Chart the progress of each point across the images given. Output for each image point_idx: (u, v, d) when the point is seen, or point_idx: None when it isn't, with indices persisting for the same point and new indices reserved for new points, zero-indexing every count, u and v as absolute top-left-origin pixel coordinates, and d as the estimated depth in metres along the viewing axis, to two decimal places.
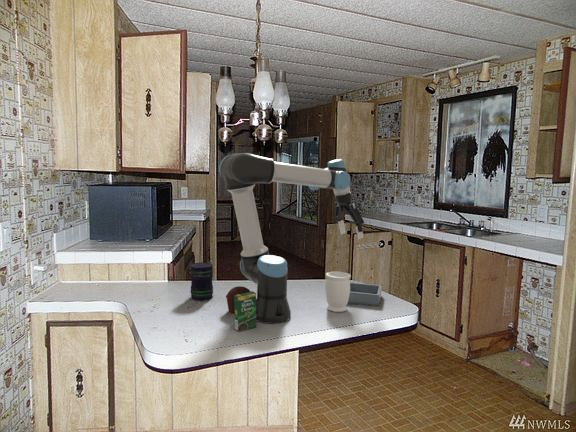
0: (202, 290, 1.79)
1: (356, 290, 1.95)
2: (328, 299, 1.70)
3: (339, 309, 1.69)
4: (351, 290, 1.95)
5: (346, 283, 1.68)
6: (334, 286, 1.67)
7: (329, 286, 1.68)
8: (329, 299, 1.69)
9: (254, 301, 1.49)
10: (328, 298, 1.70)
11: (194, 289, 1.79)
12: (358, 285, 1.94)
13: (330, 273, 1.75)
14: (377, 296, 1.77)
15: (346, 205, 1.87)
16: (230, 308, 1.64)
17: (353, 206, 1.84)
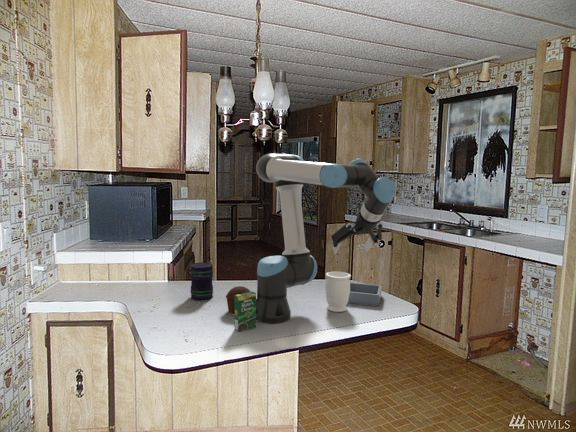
0: (202, 290, 1.79)
1: (356, 290, 1.95)
2: (328, 299, 1.70)
3: (339, 309, 1.69)
4: (351, 290, 1.95)
5: (346, 283, 1.68)
6: (334, 286, 1.67)
7: (329, 286, 1.68)
8: (329, 299, 1.69)
9: (254, 301, 1.49)
10: (328, 298, 1.70)
11: (194, 289, 1.79)
12: (358, 285, 1.94)
13: (330, 273, 1.75)
14: (377, 296, 1.77)
15: None
16: (230, 308, 1.64)
17: (346, 224, 1.47)
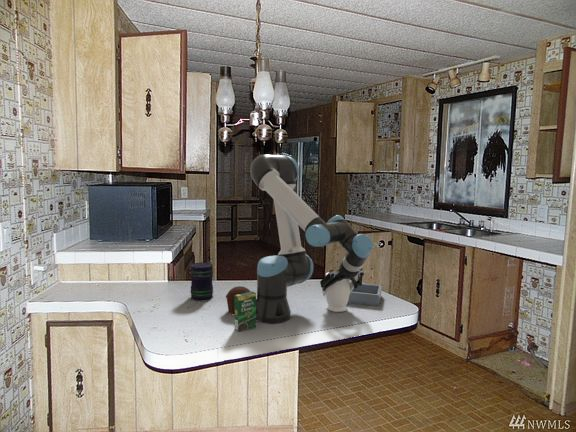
0: (202, 290, 1.79)
1: (356, 290, 1.95)
2: (328, 299, 1.70)
3: (339, 309, 1.69)
4: None
5: (346, 283, 1.68)
6: (334, 286, 1.67)
7: (329, 286, 1.68)
8: (329, 299, 1.69)
9: (254, 301, 1.49)
10: (328, 298, 1.70)
11: (194, 289, 1.79)
12: (358, 285, 1.94)
13: None
14: (377, 296, 1.77)
15: None
16: (230, 308, 1.64)
17: (330, 273, 1.61)
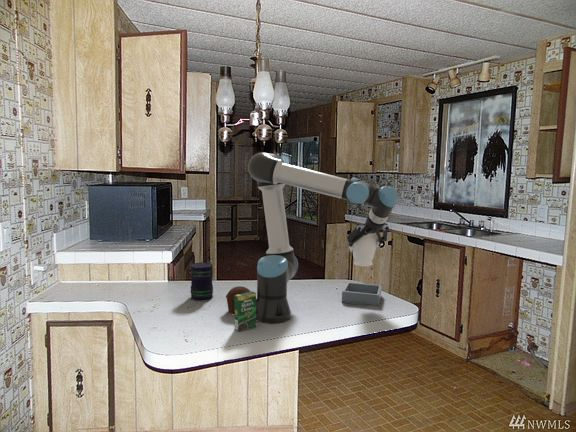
0: (202, 290, 1.79)
1: (356, 290, 1.95)
2: (355, 254, 1.79)
3: (365, 264, 1.78)
4: (351, 290, 1.95)
5: (372, 238, 1.77)
6: (360, 241, 1.76)
7: None
8: (356, 254, 1.78)
9: (254, 301, 1.49)
10: (355, 253, 1.79)
11: (194, 289, 1.79)
12: (358, 285, 1.94)
13: None
14: (377, 296, 1.77)
15: None
16: (230, 308, 1.64)
17: (357, 226, 1.70)
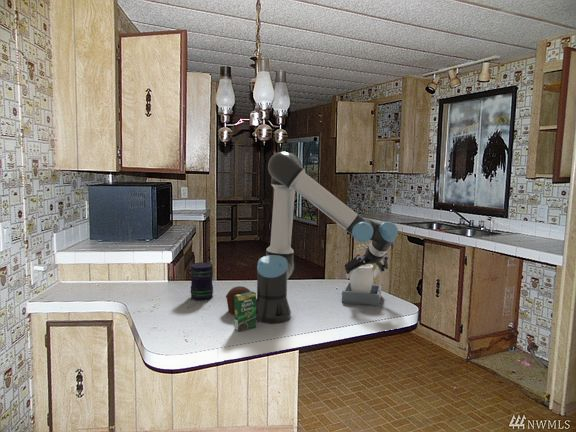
0: (202, 290, 1.79)
1: None
2: (353, 288, 1.85)
3: None
4: (351, 290, 1.95)
5: (369, 273, 1.83)
6: (358, 275, 1.82)
7: (354, 276, 1.83)
8: (354, 287, 1.84)
9: (254, 301, 1.49)
10: (353, 287, 1.85)
11: (194, 289, 1.79)
12: None
13: None
14: (377, 296, 1.77)
15: None
16: (230, 308, 1.64)
17: (357, 257, 1.75)
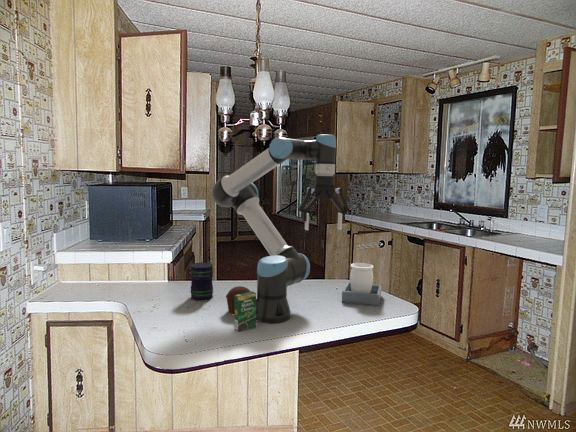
0: (202, 290, 1.79)
1: None
2: (353, 288, 1.85)
3: None
4: (351, 290, 1.95)
5: (370, 273, 1.83)
6: (359, 275, 1.82)
7: (354, 276, 1.83)
8: (354, 287, 1.84)
9: (254, 301, 1.49)
10: (353, 287, 1.85)
11: (194, 289, 1.79)
12: None
13: (354, 264, 1.90)
14: (377, 296, 1.77)
15: None
16: (230, 308, 1.64)
17: (307, 189, 1.58)
